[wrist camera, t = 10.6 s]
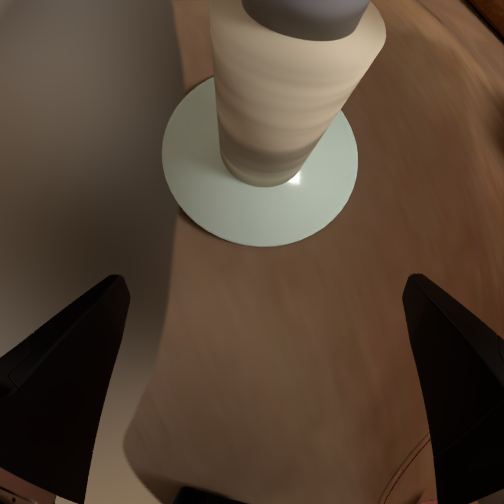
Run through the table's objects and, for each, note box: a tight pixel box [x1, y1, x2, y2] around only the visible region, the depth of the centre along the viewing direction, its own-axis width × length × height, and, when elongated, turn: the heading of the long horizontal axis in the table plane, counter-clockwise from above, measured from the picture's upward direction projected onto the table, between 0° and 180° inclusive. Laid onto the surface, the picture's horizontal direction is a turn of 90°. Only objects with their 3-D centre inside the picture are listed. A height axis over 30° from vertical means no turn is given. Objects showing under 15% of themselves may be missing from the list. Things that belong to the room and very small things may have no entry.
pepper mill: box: [209, 0, 386, 188], centre depth 12 cm, size 6×6×14 cm
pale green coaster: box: [162, 77, 358, 247], centre depth 19 cm, size 13×13×1 cm
